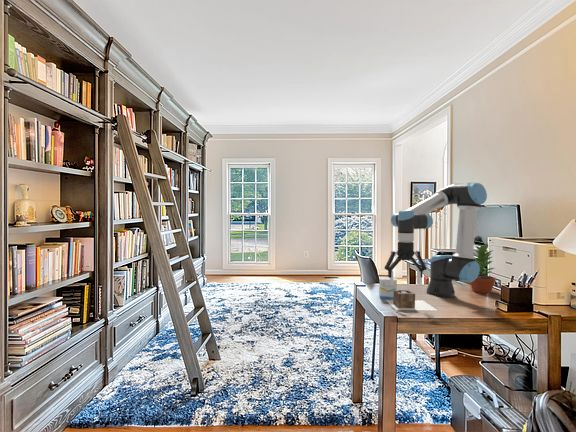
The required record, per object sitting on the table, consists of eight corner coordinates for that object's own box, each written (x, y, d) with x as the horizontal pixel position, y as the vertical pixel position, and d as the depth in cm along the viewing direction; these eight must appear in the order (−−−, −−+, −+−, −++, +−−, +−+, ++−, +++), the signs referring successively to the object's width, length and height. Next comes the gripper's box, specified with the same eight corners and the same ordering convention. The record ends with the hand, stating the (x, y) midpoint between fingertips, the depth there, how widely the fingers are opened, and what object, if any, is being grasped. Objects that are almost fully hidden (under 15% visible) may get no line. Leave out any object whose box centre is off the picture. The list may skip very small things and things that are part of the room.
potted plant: (479, 287, 227) (480, 241, 226) (500, 293, 212) (502, 243, 212) (461, 289, 221) (463, 241, 221) (482, 294, 207) (484, 244, 206)
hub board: (422, 302, 186) (423, 287, 186) (437, 312, 168) (438, 296, 168) (385, 302, 186) (385, 286, 186) (396, 312, 168) (396, 295, 168)
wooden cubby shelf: (408, 303, 179) (409, 288, 179) (414, 308, 171) (415, 292, 171) (393, 303, 179) (393, 288, 179) (398, 307, 171) (398, 292, 171)
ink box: (396, 302, 187) (397, 280, 186) (379, 300, 188) (380, 279, 188) (394, 298, 195) (395, 277, 195) (379, 296, 197) (379, 276, 196)
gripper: (427, 240, 178) (426, 282, 179) (378, 240, 178) (378, 282, 178) (433, 242, 171) (433, 285, 171) (382, 242, 170) (382, 285, 171)
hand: (405, 284), depth 175 cm, fingers open, 13 cm apart
